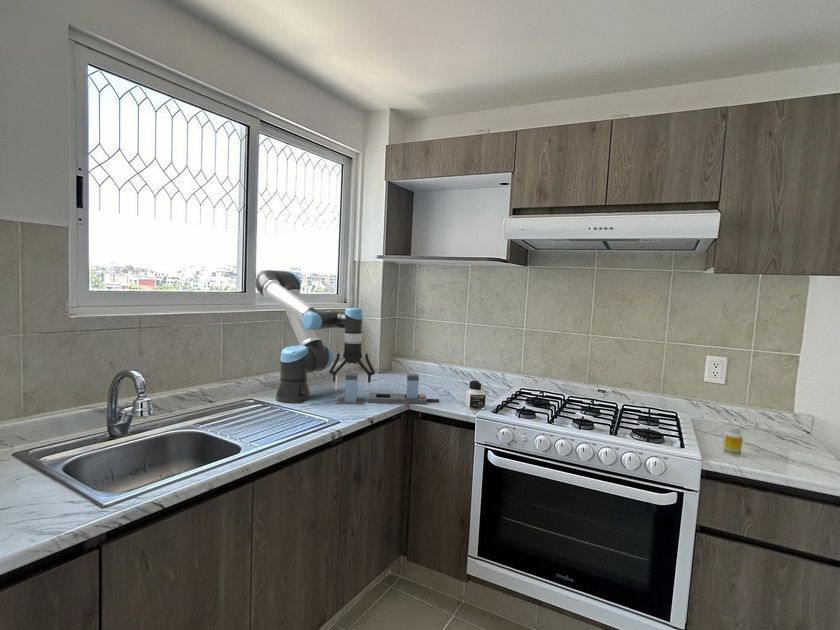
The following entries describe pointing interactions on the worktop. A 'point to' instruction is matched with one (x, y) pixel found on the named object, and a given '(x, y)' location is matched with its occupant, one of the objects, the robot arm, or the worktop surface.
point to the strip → (398, 399)
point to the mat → (358, 402)
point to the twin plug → (412, 386)
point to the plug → (351, 387)
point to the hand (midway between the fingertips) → (351, 389)
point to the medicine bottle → (475, 395)
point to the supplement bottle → (732, 441)
